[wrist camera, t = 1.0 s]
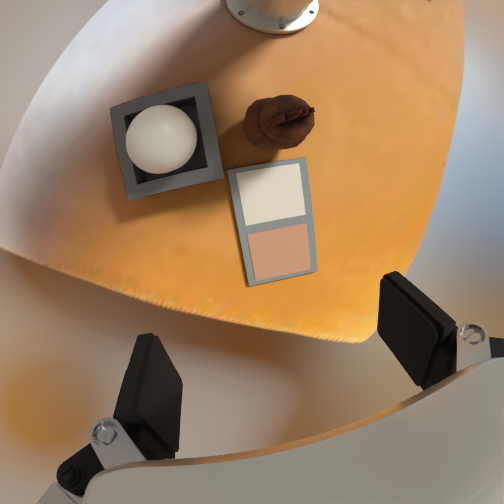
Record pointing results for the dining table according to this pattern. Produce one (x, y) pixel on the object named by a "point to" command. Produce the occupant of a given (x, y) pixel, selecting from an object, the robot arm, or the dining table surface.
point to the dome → (161, 139)
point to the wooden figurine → (278, 122)
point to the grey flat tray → (274, 219)
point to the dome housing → (202, 162)
